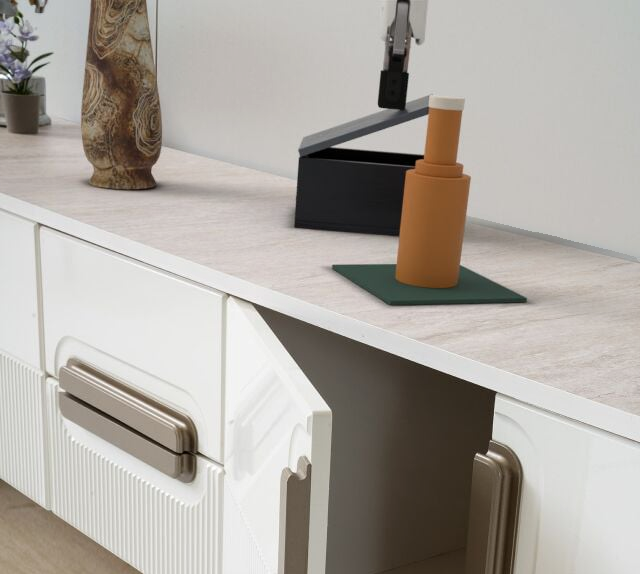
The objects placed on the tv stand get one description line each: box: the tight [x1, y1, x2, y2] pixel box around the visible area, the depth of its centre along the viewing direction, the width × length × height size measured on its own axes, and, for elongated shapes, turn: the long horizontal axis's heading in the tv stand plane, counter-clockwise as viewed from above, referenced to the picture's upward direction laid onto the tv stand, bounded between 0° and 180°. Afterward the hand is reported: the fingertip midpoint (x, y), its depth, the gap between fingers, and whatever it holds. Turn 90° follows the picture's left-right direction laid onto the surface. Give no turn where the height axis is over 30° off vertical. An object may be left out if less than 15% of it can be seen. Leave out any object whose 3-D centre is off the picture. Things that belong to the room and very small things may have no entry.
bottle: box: [395, 94, 472, 288], centre depth 105 cm, size 6×6×17 cm
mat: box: [331, 263, 528, 306], centre depth 108 cm, size 14×14×1 cm
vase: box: [80, 0, 163, 190], centre depth 142 cm, size 10×11×30 cm
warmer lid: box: [297, 93, 434, 157], centre depth 131 cm, size 16×13×1 cm
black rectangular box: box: [293, 146, 424, 237], centre depth 134 cm, size 16×13×8 cm
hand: (391, 108), depth 130 cm, fingers closed
